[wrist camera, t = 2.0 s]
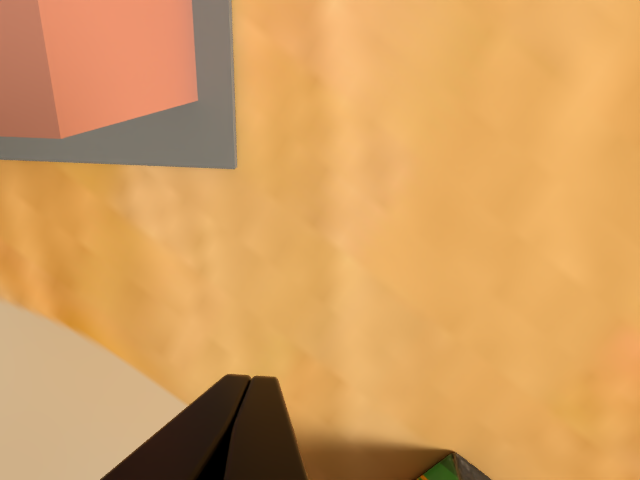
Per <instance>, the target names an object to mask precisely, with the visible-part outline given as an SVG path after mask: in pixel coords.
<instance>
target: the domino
mask: <svg viewBox="0 0 640 480" xmlns="http://www.w3.org/2000/svg"><path fill="white" fill-rule="evenodd" d="M195 101H198V92H197V76H196V60H195V44H194V28H193V12H192V0H0V136H1V137H27V138H52V139H62V138H66V137H69V136H73V135H76V134H80V133H84V132H87V131H91V130H94V129H98V128H101V127H105V126H109V125H112V124H116V123H119V122H123V121H127V120H130V119H134V118H137V117H141V116H144V115H148V114H152V113H155V112H159V111H162V110H166V109H169V108H173V107H177V106H180V105H184V104H187V103H191V102H195Z"/></svg>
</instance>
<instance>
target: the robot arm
mask: <svg viewBox="0 0 640 480" xmlns="http://www.w3.org/2000/svg"><path fill="white" fill-rule="evenodd" d="M100 480H309V479H308V475H307V472H306V469H305V466H304V462H303V459H302V456H301V453H300V450H299V446H298V443H297V440H296V437H295V433H294V430H293V427H292V424H291V420H290V417H289V414H288V411H287V407H286V404H285V401H284V398H283V394H282V391H281V388H280V385H279V381H278V379H277V378H276V377H269V376H254V377H253V378H252V379H251V377H250V376H249V375H237V374H227V375H225V376H224V377H222V378H221V379H220V380H219V381H218V382H216V383H215V384H214V385H213V386H212V387H210V388H209V389H208V390H207V391H206V392H204V393H203V394H202V395H201V396H200V397H198V398H197V399H196V400H195V401H194V402H192V403H191V404H190V405H189V406H188V407H186V408H185V409H184V410H183V411H182V412H181V413H179V414H178V415H177V416H176V417H175V418H173V419H172V420H171V421H170V422H168V423H167V424H166V425H165V426H164V427H163V428H161V429H160V430H159V431H158V432H156V433H155V434H154V435H153V436H152V437H150V439H148V440H147V441H146V442H144V443H143V444H142V445H141V446H140V447H138V448H137V449H136V450H135V451H134V452H133V453H132V454H130V455H129V456H128V457H127V458H125V459H124V460H123V461H122V462H121V463H119V464H118V465H117V466H116V467H115V468H113V469H112V470H111V471H110V472H109V473H107V474H106V475H105V476H104V477H103V478H101V479H100Z"/></svg>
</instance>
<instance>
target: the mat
mask: <svg viewBox="0 0 640 480" xmlns="http://www.w3.org/2000/svg"><path fill="white" fill-rule="evenodd" d="M192 12H193V28H194V44H195V60H196V76H197V92H198V101H195V102H191V103H187V104H184V105H180V106H177V107H173V108H169V109H166V110H162V111H159V112H155V113H152V114H148V115H144V116H141V117H137V118H134V119H130V120H127V121H123V122H119V123H116V124H112V125H109V126H105V127H101V128H98V129H94V130H91V131H87V132H84V133H80V134H76V135H73V136H69V137H66V138H62V139H52V138H27V137H1V136H0V159H1V160H25V161H50V162H74V163H99V164H123V165H148V166H172V167H197V168H221V169H235V168H236V167H237V149H236V120H235V92H234V63H233V34H232V6H231V0H192Z"/></svg>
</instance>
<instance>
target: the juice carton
mask: <svg viewBox="0 0 640 480" xmlns="http://www.w3.org/2000/svg"><path fill="white" fill-rule="evenodd" d="M416 480H491V479H490V478H489V477H488V476H486V475H485V474H484V473H482V472H481V471H479V470H478V469H477V468H476V467H475V466H473V465H472V464H470V463H469V462H468V461H467V460H465V459H464V458H463V457H461V456H460V455H459V454H457V453H452V454H450V455H448V456H447V457H445V458H444V459H443V460H442V461H440V462H439V463H438V464H436V465H435V466H434V467H433V468H431V469H429V470H428V471H427V472H426V473H424V474H423V475H422V476H420V477H419V478H418V479H416Z"/></svg>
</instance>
